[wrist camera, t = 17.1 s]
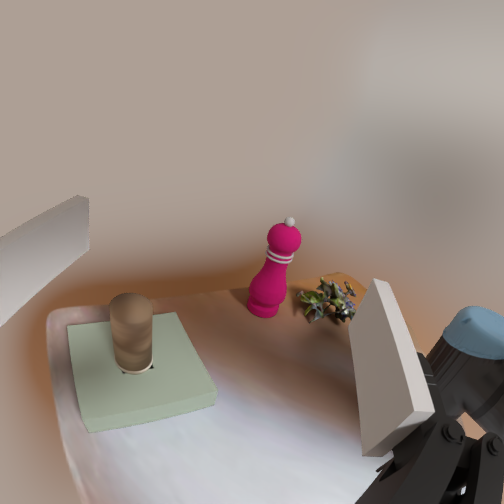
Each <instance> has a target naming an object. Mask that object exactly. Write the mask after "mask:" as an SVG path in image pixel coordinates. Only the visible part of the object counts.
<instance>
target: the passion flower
mask: <svg viewBox="0 0 504 504" xmlns="http://www.w3.org/2000/svg"><path fill="white" fill-rule="evenodd" d="M332 281H333V280H332ZM320 282H321V285H320V286H318V287H317V289H318V290H321V291H323V292H324V294H322V293H320V294H318V293H317V292H314V291H309V292H307V293H305V294H303V293H304V292H303V291H302V290H301V292H298V293H297V294H296V296H297V297H298V296H299V295H300V294H302V296H301V302H305V303H309V304H312V305H310V306H309V307H308V308H307V309H306V311H305V313H304V316H306V315H307V313H308V312H309V311H310V310H311V309H316V313H315V317H314V319H313V320H312V321H310V322H309V323H311V322H313V321H315V320H317V319H319V318H324V317H325V316H326V315H330V314H334V313H335V316H336V318H339V319H340V320H341V321H342V322H345V318H347V317H349V318H350V320H352V318H353V317H354V315H355V313H356V310H355V309H354V308H353V307H352V306H353V305H355V304H354V303H352V302H351V301H350V300H348V299H349V298H347V297H346V296H347V295H348V294H349V293H350V295H351V296H354V297H356V294H355V292H354V290H353V288H352V287H351V286H350V284H348V283H347V282H346V281H345V282H344V283H345V285H346V288H347V289H348V291H347V293H343V291H342V289H341V288H340V286H339V287H338V285H337V283H334V282H332V283H331V281H330V282H329V283H330V285H329V284H327V283H326V282H325V281H324V280H323V277H321V279H320ZM322 296H323V297H322ZM329 296H330V299H328V297H329ZM324 302H329V303H330V305H333V306H335V307H336V310H335V312H332V313H328V314H324V311H325V310H326V309H327V308H328V307H329V306H330V305H329V306H328V307H327V308H325V309H323V308H322V305H323V303H324ZM317 306H319V307H320V308H321V312H320V311H319V310H318V309H317Z"/></svg>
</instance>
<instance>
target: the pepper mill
mask: <svg viewBox="0 0 504 504" xmlns="http://www.w3.org/2000/svg"><path fill="white" fill-rule="evenodd" d="M294 223H295V221H294V219H293V218H292V217H287V218H286V219H285V221H284V223H279V224H276V225H274V226H273V227H272V228H271V229H270V230H269V233H268V235H267V241H268V243H269V245H268V246H267V250H266V255H267V258H266V262H265V264H264V266H263V268H262V269H261V271H260V272H259V273H258V274H257V275H256V276H255V277H254V278H253V280H252V282H251V284H250V287H249V293H250V296H249V299H248V303H247V307H248V309H249V310H250V312H252V313H253V314H254V315H256V316H259V317H262V318H270V317H273V316H274V315H276V313H277V311H278V308H279V304H280V303H282V302H283V301H284V299H285V296H286V290H287V285H286V269H287V266H288V263H290V262H291V261H292V257H293V256H294V253H293V252H295V251H296V250H297V249H298V248H299V247H300V244H301V234H300V232H299V231H298V229H297V228H295V227H294V226H293V225H294Z"/></svg>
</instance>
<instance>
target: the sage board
mask: <svg viewBox="0 0 504 504" xmlns="http://www.w3.org/2000/svg"><path fill="white" fill-rule="evenodd" d="M67 329H68V339H69V348H70V356H71V363H72V370H73V376H74V382H75V388H76V393H77V398H78V403H79V407H80V412H81V416H82V420H83V422H84V424H85V426H86V428H87V430H88V432H89V433H93V432H100V431H106V430H112V429H118V428H123V427H129V426H134V425H139V424H143V423H148V422H153V421H157V420H161V419H165V418H169V417H173V416H177V415H181V414H185V413H189V412H192V411H196V410H199V409H203V408H206V407H209V406H213V405H214V404H215V400H216V397H217V393H218V389H217V387H216V386H215V384H214V382H213V380H212V379H211V377H210V375H209V373H208V372H207V370H206V368H205V366H204V365H203V363H202V361H201V359H200V358H199V356H198V354H197V352H196V350H195V348H194V347H193V345H192V343H191V341H190V339H189V337H188V335H187V333H186V332H185V330H184V328H183V326H182V324H181V322H180V320H179V318H178V316H177V314H176V312H171V313H165V314H158V315H153V322H152V355H153V363H152V366H151V368H150V369H149V370H148V371H146V372H144V373H142V374H137V375H132V374H127V373H125V374H123V373H122V371H121V370H120V369H119V368H118V367H117V366H116V364H115V360H114V348H113V340H112V332H111V323H110V321H106V322H98V323H89V324H80V325H71V326H67Z"/></svg>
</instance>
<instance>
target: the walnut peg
mask: <svg viewBox="0 0 504 504" xmlns="http://www.w3.org/2000/svg"><path fill="white" fill-rule="evenodd" d="M109 312H110V323H111V332H112V340H113V348H114V360H115V364H116V366H117V367H118V368H119V369H120V370H121V371H123V372H125V373H127V374H132V375H137V374H142V373H144V372H146V371H148V370H149V369H150V368H151V366H152V363H153V355H152V322H153V306H152V303H151V302H150V300H149V299H148V298H146V297H145V296H143V295H140V294H136V293H124V294H120V295H118V296H116V297H114V298H113V299H112V300H111V302H110V304H109Z"/></svg>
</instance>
